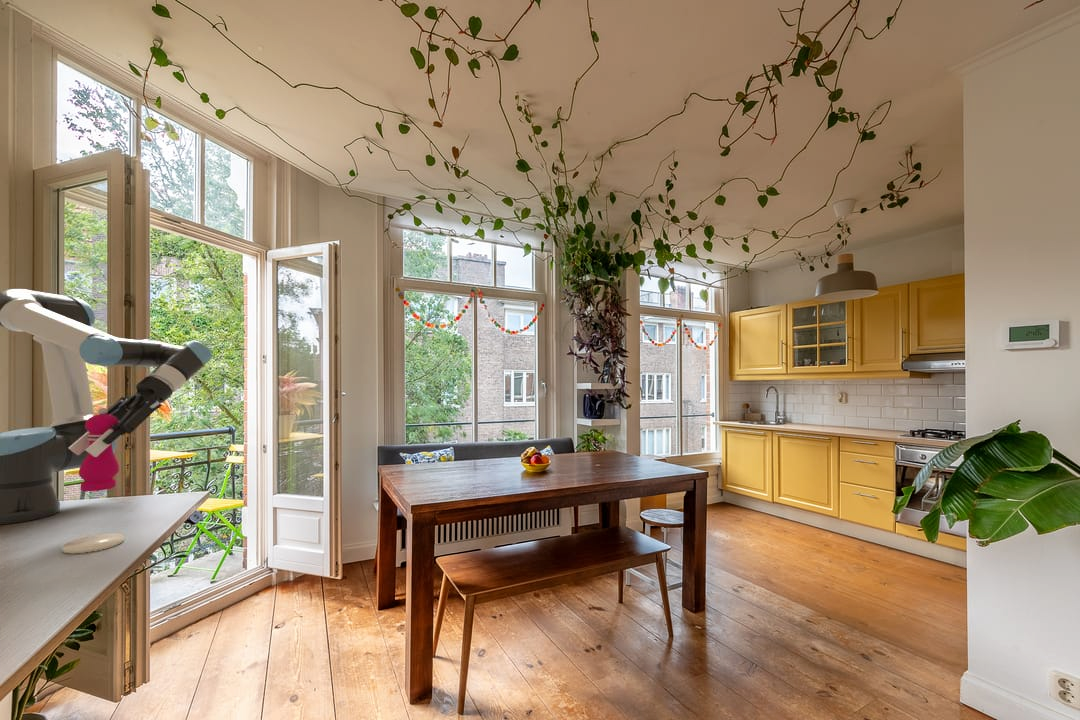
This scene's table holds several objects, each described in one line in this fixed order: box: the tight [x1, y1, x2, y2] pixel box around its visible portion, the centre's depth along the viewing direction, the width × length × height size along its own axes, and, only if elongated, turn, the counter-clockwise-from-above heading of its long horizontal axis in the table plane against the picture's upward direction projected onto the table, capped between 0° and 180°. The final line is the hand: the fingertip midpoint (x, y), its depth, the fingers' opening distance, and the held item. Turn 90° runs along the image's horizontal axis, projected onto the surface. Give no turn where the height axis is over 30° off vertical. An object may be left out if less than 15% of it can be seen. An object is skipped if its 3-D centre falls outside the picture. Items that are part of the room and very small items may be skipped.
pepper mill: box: [78, 407, 120, 492], centre depth 113 cm, size 7×7×20 cm
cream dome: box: [61, 532, 125, 555], centre depth 103 cm, size 10×10×1 cm
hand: (82, 452), depth 110 cm, fingers closed on pepper mill, 6 cm apart
